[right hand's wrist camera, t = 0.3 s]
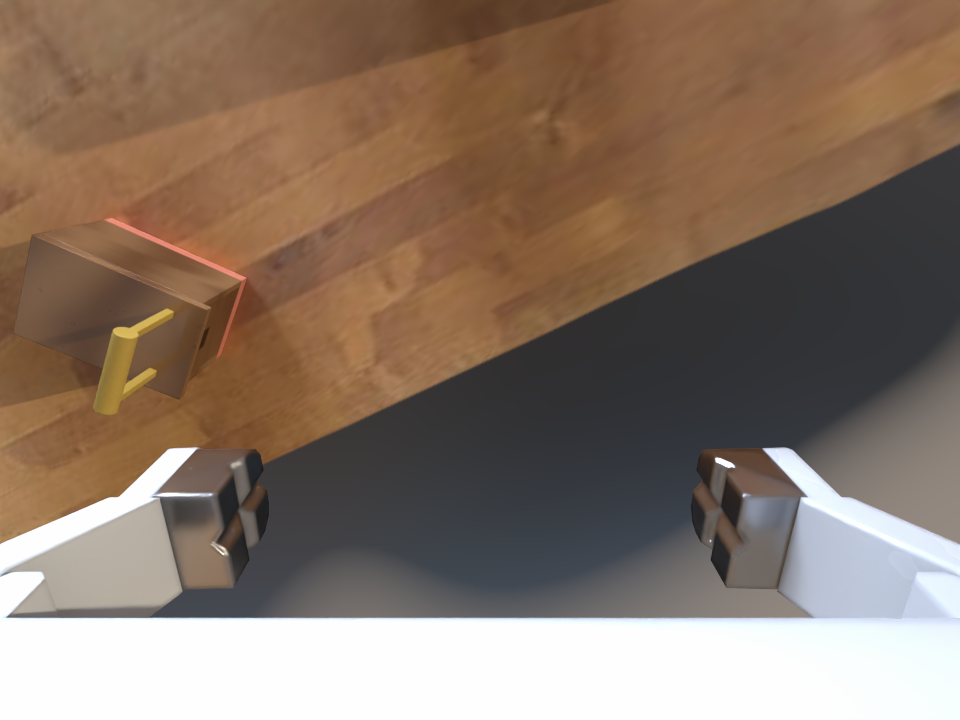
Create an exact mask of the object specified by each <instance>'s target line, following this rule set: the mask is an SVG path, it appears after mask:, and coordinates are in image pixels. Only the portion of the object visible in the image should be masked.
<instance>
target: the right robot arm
mask: <svg viewBox="0 0 960 720" xmlns="http://www.w3.org/2000/svg"><path fill="white" fill-rule="evenodd" d="M262 472H263V466H262V461H261V456H260V454H259V453H258V452H257V450H256V449H221V448H202V449H201V448H174V449H168V450H167V451H166V452H165V453H164V454H163V455H162V456H161V457H160V458H159V459H158V460H157V461H156V462H155V463H154V464H153V465H152V466H151V467H150V468H149V469H148V470H147V471H146V472H145V473H144V474H142V475H141V476H140V477H139V478H138V479H137V480H136V481H135V482H134V483H133V484H132V485H131V486H130V487H129V488H128V489H127V490H126V491H125V492H124V493H123V494H122V495H121V496H120V497H115V498H107V499H105V500H103V501H100V502H98V503H96V504H93V505H91V506H88V507H86V508H84V509H81V510H79V511H77V512H74V513H72V514H70V515H67V516H65V517H63V518H60V519H58V520H56V521H53V522H51V523H49V524H46V525H44V526H42V527H39V528H37V529H35V530H32V531H30V532H28V533H25V534H23V535H21V536H18V537H16V538H14V539H11V540H9V541H7V542H4V543H2V544H0V720H960V544H958V543H956V542H953V541H951V540H949V539H946V538H944V537H941V536H939V535H937V534H935V533H932V532H930V531H927V530H925V529H923V528H920V527H918V526H916V525H913V524H911V523H909V522H906V521H904V520H902V519H899V518H897V517H895V516H892V515H890V514H888V513H885V512H883V511H881V510H878V509H876V508H874V507H871V506H869V505H867V504H864V503H862V502H860V501H857V500H855V499H853V498H844V497H840V496H839V495H838V494H837V493H836V492H835V491H834V490H833V489H832V488H831V487H830V486H829V485H828V484H827V483H826V482H825V481H824V480H823V479H822V478H821V477H820V476H819V475H818V474H817V473H816V472H815V471H814V470H812V469H811V468H810V467H809V466H808V465H807V464H806V463H805V462H804V461H803V460H802V459H801V458H800V457H799V456H798V455H797V454H796V453H795V452H794V451H793V450H791V449H788V448H753V449H712V450H702V452H701V454H700V457H699V460H698V465H697V472H698V473H699V475H700V476H701V478H702V479H703V481H702V482H701V483H700V484H699V486H698V487H697V488H696V489H695V490H694V491H693V496H692V504H691V511H692V522H693V525H694V528H695V532H696V534H697V536H698V538H699V540H700V541H701V543H703V544H704V545H706V546H707V547H709V548H711V549H712V556H711V561H712V563H713V565H714V567H715V568H716V570H717V572H718V574H719V575H720V577H721V579H722V581H723V582H724V584H725V586H726V588H749V589H778V591H777V592H779V593H780V594H781V595H782V596H784V597H785V598H786V599H788V600H789V601H790V602H792V603H793V604H794V605H795V606H797V607H798V608H800V609H801V610H802V611H803V612H805V613H806V614H807V615H809V616H810V617H811V618H149V617H150V616H152V615H153V614H154V613H156V612H157V611H158V610H159V609H161V608H162V607H163V606H165V605H166V604H167V603H169V602H170V601H171V600H173V599H174V598H175V597H176V596H178V595H179V594H180V593H182V589H210V588H234V586H235V584H236V583H237V581H238V579H239V577H240V575H241V574H242V572H243V570H244V568H245V566H246V565H247V563H248V561H249V556H248V549H249V548H251V547H252V546H254V545H256V544H257V543H259V541H260V540H261V538H262V536H263V534H264V532H265V529H266V524H267V520H268V516H269V502H268V495H267V491H266V490H265V489H264V488H263V487H262V486H261V485H260V483H259V482H258V481H257V479H258V478H259V476H260V475H261V473H262Z"/></svg>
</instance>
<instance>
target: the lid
mask: <svg viewBox="0 0 960 720" xmlns="http://www.w3.org/2000/svg"><path fill="white" fill-rule="evenodd" d="M210 311H211V307H209V306H207V305H205V304H202V303H200V302H198V301H195V300H193V299H191V298H188V297H186V296H184V295H181V294H179V293H177V292H174V291H172V290H170V289H167V288H165V287H163V286H161V285H158V284H156V283H154V282H151V281H149V280H147V279H144V278H142V277H140V276H137V275H135V274H133V273H130V272H128V271H126V270H123V269H121V268H119V267H116V266H114V265H112V264H109V263H107V262H105V261H102V260H100V259H98V258H95V257H93V256H91V255H88V254H86V253H84V252H81V251H79V250H77V249H75V248H72V247H70V246H68V245H65V244H63V243H61V242H58V241H56V240H54V239H51V238H49V237H47V236H44V235H42V234H40V233H38V234H33V235H32V237H31V242H30V248H29V253H28V258H27V264H26V269H25V274H24V280H23V285H22V290H21V296H20V301H19V307H18V312H17V317H16V323H15V328H14V334H16V335H19V336H21V337H24V338H26V339H29V340H31V341H34V342H36V343H39V344H41V345H44V346H46V347H49V348H51V349H54V350H56V351H59V352H61V353H64V354H66V355H69V356H71V357H74V358H76V359H79V360H81V361H84V362H86V363H89V364H91V365H94V366H96V367H99V368H101V369H103V370H102V374H101V378H100V382H99V386H98V390H97V394H96V397H95V401H94V405H93V409H94V411H95V412H97V413H99V414H102V415H112V414H115V413H117V412H118V409H119V406H120V402H121V401H122V400H124V399H125V398H126V397H128V396H129V395H130V394H132V393H133V392H135V391H136V390H137V389H139V388H140V387H142V386H143V385H144V386H146V387H149V388H151V389H154V390H156V391H159V392H161V393H164V394H166V395H169V396H171V397H174V398H176V399H180V398H181V397H183V396H184V393H185V389H186V386H187V383H188V380H189V377H190V374H191V371H192V368H193V364H194V361H195V358H196V355H197V352H198V349H199V346H200V342H201V339H202V336H203V333H204V330H205V327H206V324H207V320H208V317H209V314H210ZM127 379H129V380H131V381H129V382H128V383H126V380H127Z"/></svg>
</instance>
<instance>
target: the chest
mask: <svg viewBox="0 0 960 720" xmlns="http://www.w3.org/2000/svg"><path fill="white" fill-rule="evenodd" d="M40 234H42V235H44V236H47V237H49V238H51V239H54V240H56V241H58V242H61V243H63V244H65V245H68V246H70V247H72V248H75V249H77V250H79V251H81V252H84V253H86V254H88V255H91V256H93V257H95V258H98V259H100V260H102V261H105V262H107V263H109V264H112V265H114V266H116V267H119V268H121V269H123V270H126V271H128V272H130V273H133V274H135V275H137V276H140V277H142V278H144V279H147V280H149V281H151V282H154V283H156V284H158V285H161V286H163V287H165V288H167V289H170V290H172V291H174V292H177V293H179V294H181V295H184V296H186V297H188V298H191V299H193V300H195V301H198V302H200V303H202V304H205V305H207V306H209V307H211V311H210V314H209V317H208V320H207V324H206V327H205V330H204V333H203V336H202V339H201V342H200V346H199V349H198V352H197V355H196V358H195V361H194V364H193V368H192V371H191V374H190V377H189V380H191V379H192V378H193V377H194V376H196V375H197V374H198V373H199V372H200V371H202V370H203V369H204V368H205V367H207V366H208V365H209V364H210V363H211V362H213V361H214V360H215V359H217V358H218V357H219V356H221V354H222V351H223V348H224V345H225V342H226V339H227V336H228V333H229V330H230V327H231V324H232V321H233V318H234V315H235V312H236V309H237V306H238V303H239V300H240V297H241V294H242V291H243V288H244V285H245V282H246V279H247V278H246V277H244V276H241V275H239V274H237V273H235V272H232V271H230V270H228V269H226V268H223V267H221V266H219V265H217V264H214V263H212V262H210V261H208V260H205V259H203V258H201V257H199V256H196V255H194V254H192V253H190V252H187V251H185V250H183V249H181V248H178V247H176V246H174V245H172V244H169V243H167V242H165V241H163V240H160V239H158V238H156V237H154V236H151V235H149V234H147V233H145V232H142V231H140V230H138V229H136V228H133V227H131V226H129V225H126V224H124V223H122V222H120V221H117V220H115V219H113V218H110V219H105V220H102V221H97V222H93V223H88V224H83V225H78V226H73V227H68V228H63V229H58V230H53V231H48V232H44V233H40ZM189 380H188V381H189Z"/></svg>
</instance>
